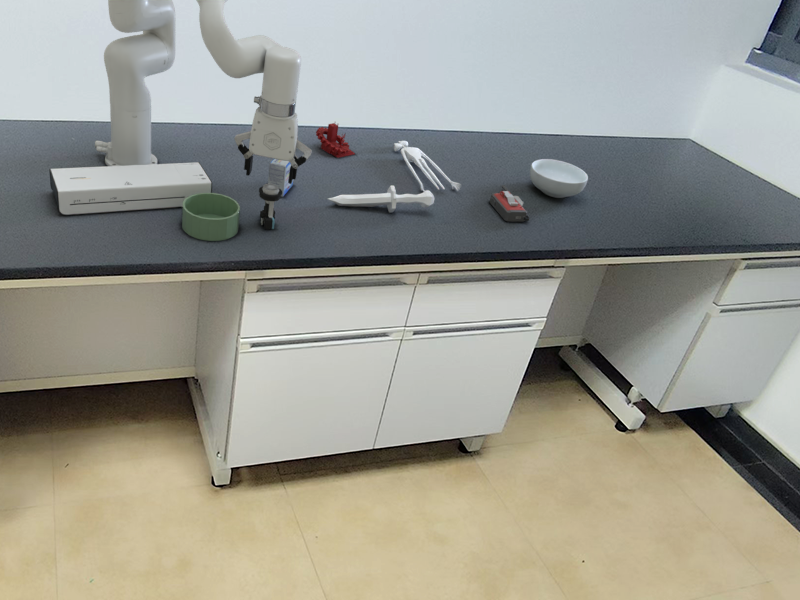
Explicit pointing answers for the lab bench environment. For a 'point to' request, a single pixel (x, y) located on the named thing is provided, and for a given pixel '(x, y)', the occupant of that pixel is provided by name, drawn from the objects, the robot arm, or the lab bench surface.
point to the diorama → (333, 141)
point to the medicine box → (280, 174)
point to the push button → (269, 204)
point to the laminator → (126, 187)
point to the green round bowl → (210, 216)
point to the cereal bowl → (557, 178)
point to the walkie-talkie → (509, 206)
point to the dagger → (384, 199)
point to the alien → (420, 163)
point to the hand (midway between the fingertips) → (269, 177)
